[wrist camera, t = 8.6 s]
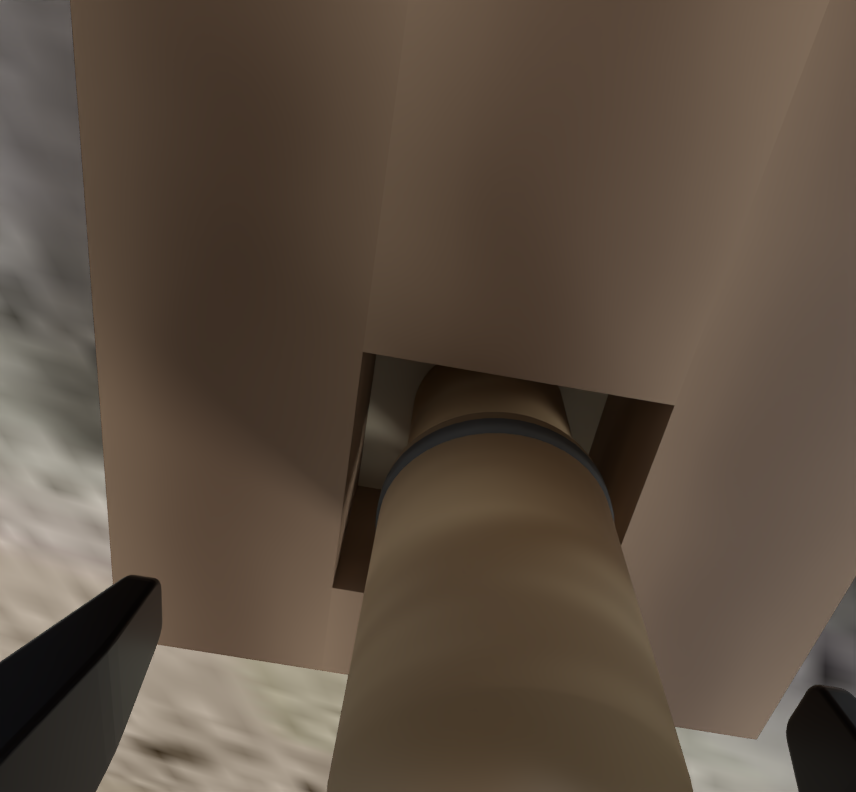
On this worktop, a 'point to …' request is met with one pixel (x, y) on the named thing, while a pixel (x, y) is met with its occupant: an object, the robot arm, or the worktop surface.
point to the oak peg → (500, 613)
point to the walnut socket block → (478, 299)
